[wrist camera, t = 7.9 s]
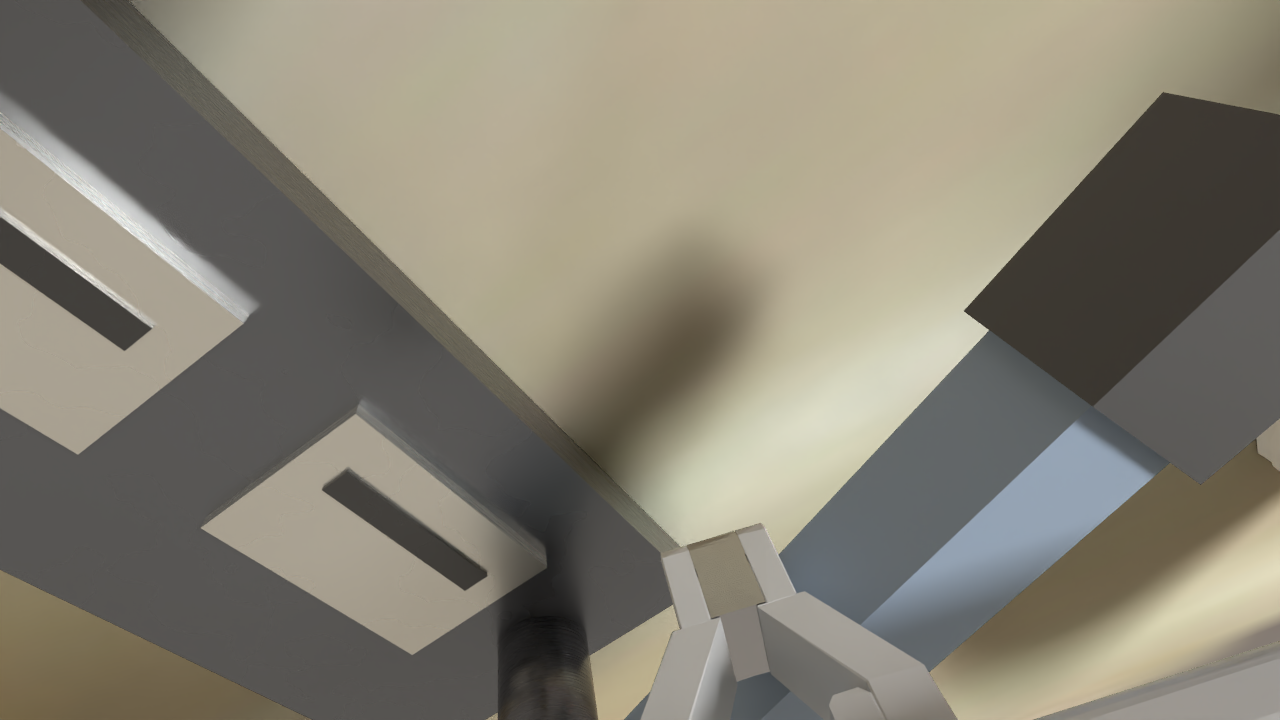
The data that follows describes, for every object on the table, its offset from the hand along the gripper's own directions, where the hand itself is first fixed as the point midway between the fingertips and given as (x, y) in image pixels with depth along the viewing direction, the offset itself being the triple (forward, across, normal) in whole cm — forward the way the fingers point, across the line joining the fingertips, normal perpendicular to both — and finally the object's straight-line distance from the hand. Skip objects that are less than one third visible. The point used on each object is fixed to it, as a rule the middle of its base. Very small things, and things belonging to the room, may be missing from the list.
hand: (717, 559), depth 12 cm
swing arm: (+1, -1, +2) cm, 3 cm away
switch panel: (+7, +11, -2) cm, 13 cm away
